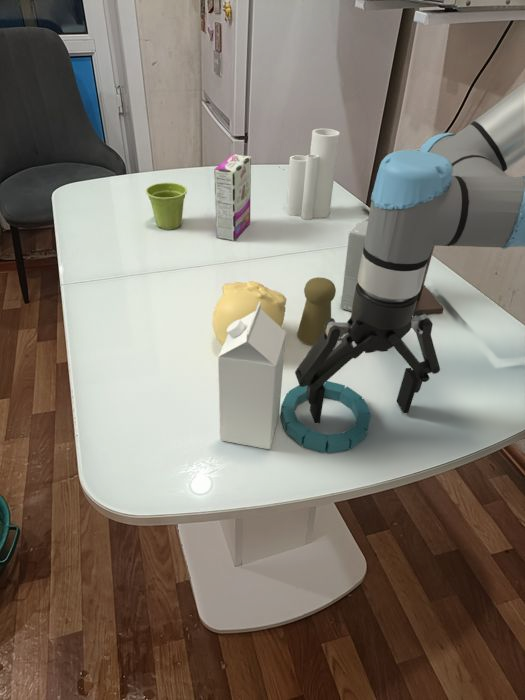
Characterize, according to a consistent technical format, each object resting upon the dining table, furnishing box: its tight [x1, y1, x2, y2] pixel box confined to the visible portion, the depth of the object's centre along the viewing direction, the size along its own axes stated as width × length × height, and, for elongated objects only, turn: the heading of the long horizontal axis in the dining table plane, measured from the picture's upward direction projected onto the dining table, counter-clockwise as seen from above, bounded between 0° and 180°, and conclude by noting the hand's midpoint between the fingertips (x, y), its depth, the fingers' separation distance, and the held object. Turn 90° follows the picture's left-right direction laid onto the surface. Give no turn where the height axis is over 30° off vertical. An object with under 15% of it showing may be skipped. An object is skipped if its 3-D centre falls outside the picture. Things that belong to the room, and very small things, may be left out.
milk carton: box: [217, 302, 287, 450], centre depth 67 cm, size 7×7×19 cm
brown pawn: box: [296, 276, 337, 347], centre depth 87 cm, size 6×6×11 cm
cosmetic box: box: [340, 217, 369, 312], centre depth 95 cm, size 8×7×16 cm
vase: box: [285, 127, 340, 221], centre depth 126 cm, size 11×7×20 cm, turn 106°
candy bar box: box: [213, 153, 252, 242], centre depth 118 cm, size 11×5×16 cm, turn 162°
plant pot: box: [145, 182, 188, 231], centre depth 121 cm, size 9×9×9 cm
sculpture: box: [211, 280, 287, 346], centre depth 85 cm, size 11×12×11 cm
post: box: [413, 246, 445, 317], centre depth 96 cm, size 9×9×15 cm
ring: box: [279, 380, 372, 454], centre depth 74 cm, size 13×13×2 cm
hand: (359, 411), depth 75 cm, fingers open, 13 cm apart
